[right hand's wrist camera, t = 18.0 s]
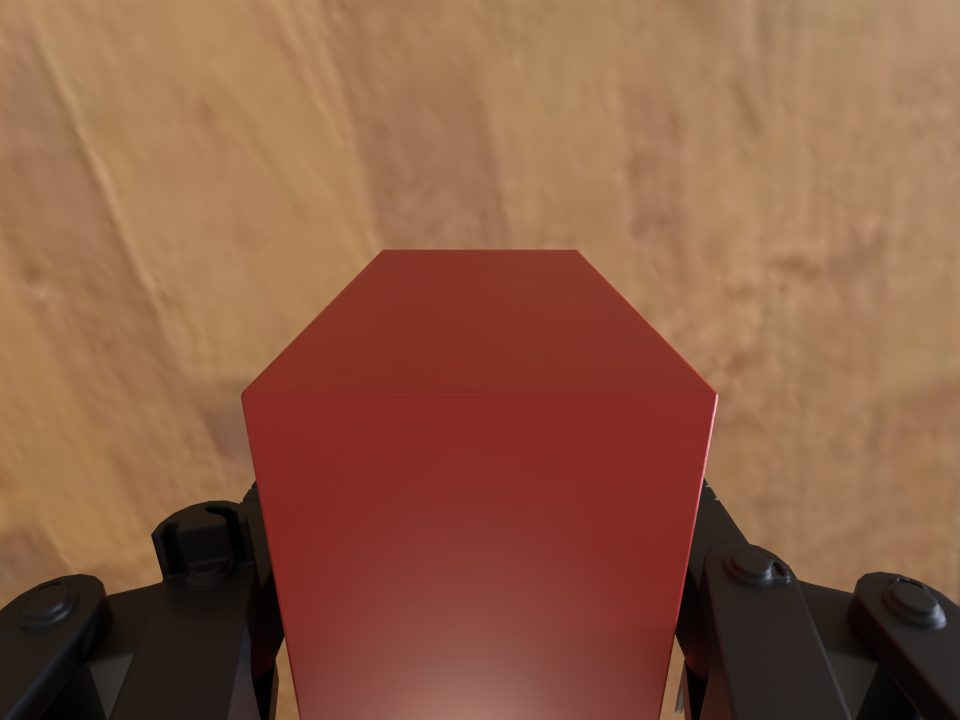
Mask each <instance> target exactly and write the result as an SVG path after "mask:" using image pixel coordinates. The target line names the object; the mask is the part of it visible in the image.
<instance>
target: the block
mask: <svg viewBox="0 0 960 720" xmlns="http://www.w3.org/2000/svg"><path fill="white" fill-rule="evenodd" d="M241 400H242V405H243V411H244V416H245V422H246V427H247V433H248V438H249V444H250V449H251V454H252V460H253V465H254V471H255V476H256V482H257V487H258V493H259V498H260V504H261V509H262V515H263V520H264V525H265V531H266V536H267V542H268V547H269V553H270V558H271V564H272V569H273V575H274V580H275V586H276V591H277V596H278V602H279V607H280V613H281V618H282V624H283V629H284V635H285V640H286V646H287V651H288V657H289V662H290V667H291V673H292V678H293V684H294V689H295V695H296V700H297V706H298V711H299V717H300V720H659V719H660V713H661V708H662V702H663V697H664V691H665V686H666V680H667V675H668V670H669V664H670V659H671V653H672V648H673V642H674V637H675V631H676V626H677V620H678V615H679V609H680V604H681V598H682V593H683V587H684V582H685V576H686V571H687V565H688V560H689V554H690V549H691V543H692V538H693V532H694V527H695V522H696V516H697V511H698V505H699V500H700V494H701V489H702V483H703V478H704V472H705V467H706V461H707V456H708V450H709V445H710V439H711V434H712V428H713V423H714V417H715V412H716V406H717V401H718V394H717V392H716V391H715V390H714V389H713V388H712V387H711V386H710V385H709V384H708V383H707V382H706V381H705V380H704V379H703V378H702V377H701V376H700V375H699V374H698V373H697V372H696V371H695V370H694V369H693V368H692V367H691V366H690V365H689V364H688V363H687V361H686V360H685V359H684V358H683V357H682V356H681V355H680V354H679V353H678V352H677V351H676V350H675V349H674V348H673V347H672V346H671V345H670V344H669V343H668V342H667V341H666V340H665V339H664V338H663V337H662V336H661V335H660V334H659V333H658V332H657V331H656V330H655V329H654V328H653V327H652V326H651V325H650V324H649V323H648V322H647V321H646V320H645V319H644V318H643V317H642V316H641V315H640V314H639V313H638V312H637V311H636V310H635V309H634V308H633V307H632V306H631V305H630V303H629V302H628V301H627V300H626V299H625V298H624V297H623V296H622V295H621V294H620V293H619V292H618V291H617V290H616V289H615V288H614V287H613V286H612V285H611V284H610V283H609V282H608V281H607V280H606V279H605V278H604V277H603V276H602V275H601V274H600V273H599V272H598V271H597V270H596V269H595V268H594V267H593V266H592V265H591V264H590V263H589V262H588V261H587V260H586V259H585V258H584V257H583V256H582V255H581V254H580V253H579V252H578V251H577V250H382V251H381V252H380V253H379V254H378V255H377V256H376V257H375V258H374V259H373V260H372V261H371V262H370V263H369V264H368V265H367V266H366V267H365V269H364V270H363V271H362V272H361V273H360V274H359V275H358V276H357V277H356V278H355V279H354V280H353V281H352V282H351V283H350V284H349V285H348V286H347V287H346V288H345V289H344V290H343V291H342V292H341V293H340V294H339V295H338V296H337V297H336V298H335V299H334V300H333V301H332V302H331V303H330V304H329V305H328V306H327V307H326V308H325V309H324V310H323V311H322V312H321V313H320V314H319V315H318V316H317V317H316V318H315V319H314V320H313V321H312V322H311V323H310V324H309V325H308V326H307V327H306V328H305V329H304V330H303V331H302V332H301V333H300V334H299V335H298V336H297V337H296V338H295V340H294V341H293V342H292V343H291V344H290V345H289V346H288V347H287V348H286V349H285V350H284V351H283V352H282V353H281V354H280V355H279V356H278V357H277V358H276V359H275V360H274V361H273V362H272V363H271V364H270V365H269V366H268V367H267V368H266V369H265V370H264V371H263V372H262V373H261V374H260V375H259V376H258V377H257V378H256V379H255V380H254V381H253V382H252V383H251V384H250V385H249V386H248V387H247V388H246V389H245V390H244V391H243V392H242V395H241Z"/></svg>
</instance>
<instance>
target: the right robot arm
mask: <svg viewBox="0 0 960 720" xmlns="http://www.w3.org/2000/svg"><path fill="white" fill-rule="evenodd" d="M151 536H152V540H153V543H154V547H155V551H156V554H157V558H158V561H159V565H160V568H161V572H162V575H163V581H162V582H161V583H157V584H154V585H151V586H147V587H143V588H139V589H134V590H130V591H125V592H121V593H117V594H112V595H108V596H107V594H106V591H105V588H104V585H103V583H102V582H101V581H100V580H99V579H97V578H96V577H95V576H90V575H83V574H77V575H70V576H63V577H59V578H56V579H53V580H50V581H47V582H45V583H42V584H39V585H38V586H36V587H34V588H32V589H30V590H28V591H26V592H24V593H23V594H21V595H19V596H18V597H17V598H15V599H14V600H13V601H11V602H10V603H9V604H8V605H6V606H5V607H4V608H3V609H1V610H0V720H275V716H276V705H277V695H278V685H279V678H278V671H277V665H276V660H275V659H276V656H277V654H278V651H279V649H280V646H281V644H282V641H283V639H284V636H285V635H284V629H283V624H282V618H281V613H280V607H279V602H278V596H277V591H276V586H275V580H274V575H273V569H272V564H271V558H270V553H269V547H268V542H267V536H266V531H265V525H264V520H263V515H262V509H261V504H260V498H259V493H258V487H257V482H256V480H255V482H254V483H253V485H252V489H249V491H248V492H247V494H246V495H245V497H244V498H243V502H240V504H238V503H234V502H230V501H226V500H225V501H207V502H203V503H199V504H195V505H191V506H189V507H187V508H184V509H182V510H180V511H178V512H175V513H174V514H172V515H171V516H169V517H168V518H167V519H165V520H164V521H162V522H161V523H160V524H159V525H158V526H157V528H156V529H155V530H154V532H153V533H152V534H151ZM675 635H676V637H677V640H678V642H679V644H680V647H681V649H682V652H683V654H684V657H685V660H684V665H683V670H682V675H681V680H680V686H679V691H678V696H677V701H676V708H675V712H676V713H681V714H682V711H683V706H684V714H685V720H960V608H959V607H958V606H957V605H956V604H955V603H953V602H952V601H951V600H950V599H948V598H947V597H946V596H944V595H943V594H942V593H940V592H939V591H937V590H935V589H933V588H931V587H929V586H927V585H925V584H924V583H922V582H920V581H917V580H914V579H911V578H908V577H905V576H902V575H899V574H893V573H885V572H875V573H868V574H865V575H864V576H863V577H861V578H860V579H859V580H858V581H857V584H856V587H855V590H854V593H849V592H844V591H840V590H835V589H831V588H827V587H822V586H818V585H814V584H810V583H807V582H803V581H800V580H797V578H796V576H795V575H794V573H793V572H792V570H791V569H790V567H789V566H788V565H787V564H786V563H785V562H784V561H782V560H781V559H780V558H779V557H777V556H776V555H775V554H773V553H771V552H769V551H767V550H765V549H763V548H761V547H759V546H755V545H752V544H749V543H748V542H747V540H746V539H745V537H744V536H743V534H742V533H741V531H740V530H739V528H738V527H737V526H736V524H735V523H734V521H733V520H732V518H731V517H730V515H729V514H728V512H727V511H726V509H725V508H724V507H723V505H722V504H721V502H720V501H719V500H717V496H716V495H715V493H714V492H713V490H712V489H711V488H710V487H708V483H707V482H706V480H705V479H704V478H703V483H702V489H701V494H700V500H699V505H698V511H697V516H696V522H695V527H694V532H693V538H692V543H691V549H690V554H689V560H688V565H687V571H686V576H685V582H684V587H683V593H682V598H681V604H680V609H679V615H678V620H677V626H676V631H675Z"/></svg>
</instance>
